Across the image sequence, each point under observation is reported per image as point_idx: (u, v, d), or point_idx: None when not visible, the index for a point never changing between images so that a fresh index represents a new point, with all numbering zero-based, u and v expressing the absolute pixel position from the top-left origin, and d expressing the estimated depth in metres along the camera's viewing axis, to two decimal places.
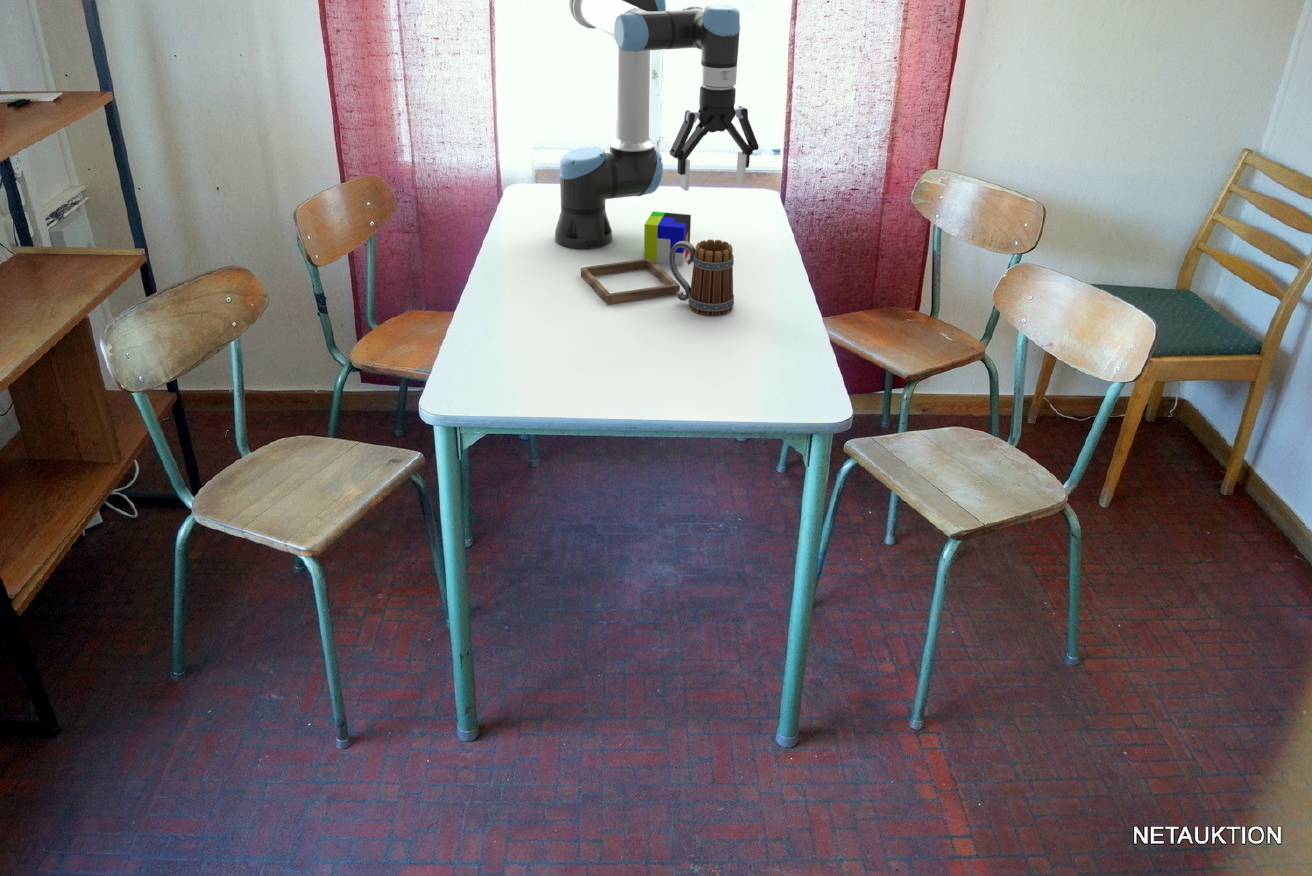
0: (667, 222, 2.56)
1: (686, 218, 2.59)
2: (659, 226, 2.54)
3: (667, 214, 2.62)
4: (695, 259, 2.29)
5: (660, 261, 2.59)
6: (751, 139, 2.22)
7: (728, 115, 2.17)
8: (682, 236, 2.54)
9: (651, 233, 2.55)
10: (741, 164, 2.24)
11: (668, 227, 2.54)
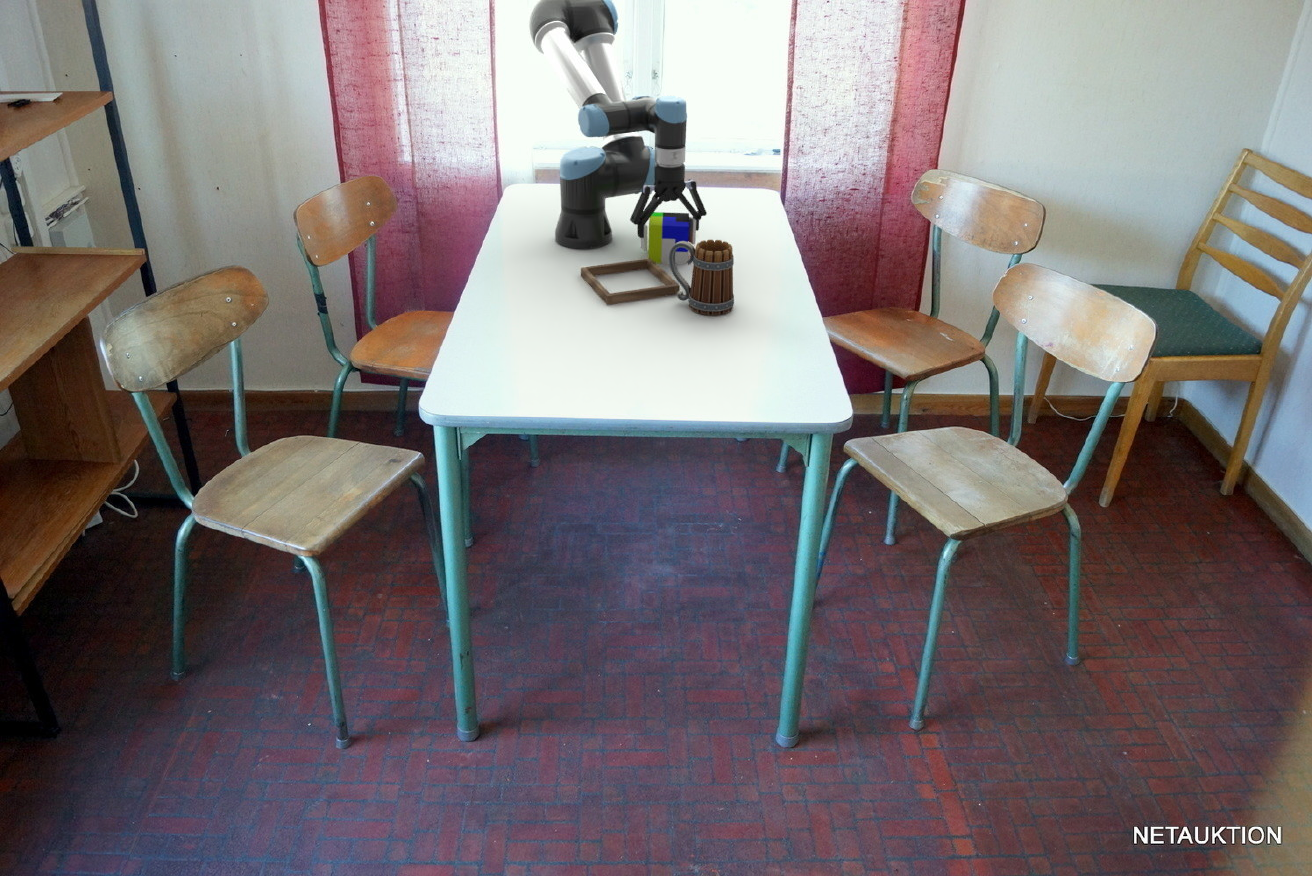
0: (669, 222, 2.56)
1: (686, 216, 2.60)
2: (664, 227, 2.54)
3: (665, 213, 2.62)
4: (695, 259, 2.29)
5: (665, 261, 2.59)
6: (700, 206, 2.58)
7: (679, 187, 2.54)
8: (687, 235, 2.55)
9: (656, 234, 2.55)
10: (692, 227, 2.61)
11: (673, 227, 2.54)
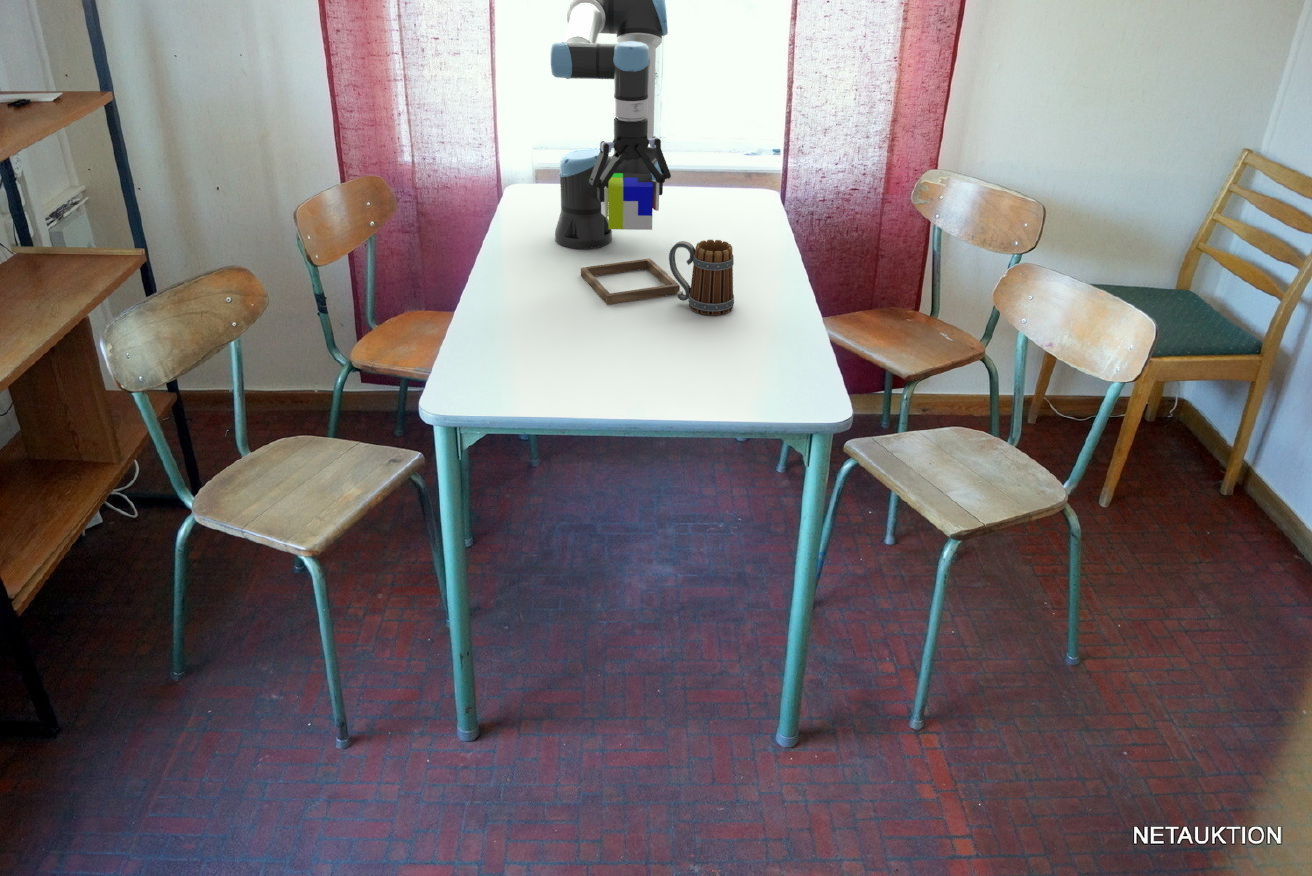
0: (631, 182, 2.32)
1: (649, 177, 2.36)
2: (625, 188, 2.29)
3: (626, 174, 2.37)
4: (695, 259, 2.29)
5: (627, 227, 2.34)
6: (664, 168, 2.34)
7: (642, 144, 2.29)
8: (651, 196, 2.31)
9: (616, 196, 2.30)
10: (655, 192, 2.37)
11: (635, 188, 2.29)
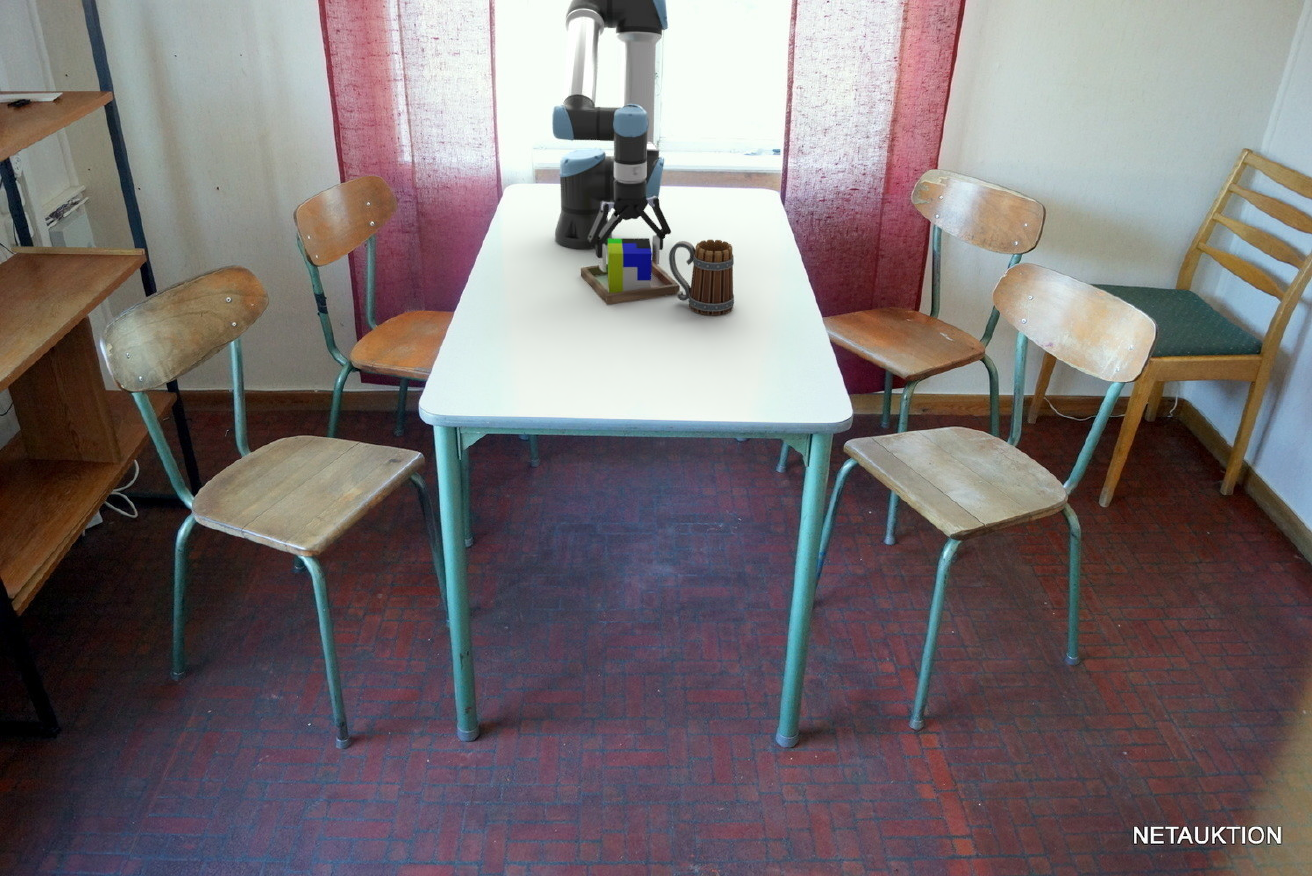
0: (630, 249, 2.40)
1: (647, 242, 2.44)
2: (625, 255, 2.37)
3: (624, 239, 2.45)
4: (695, 259, 2.29)
5: None
6: (663, 225, 2.41)
7: (641, 204, 2.36)
8: (650, 262, 2.39)
9: (616, 262, 2.38)
10: (655, 247, 2.44)
11: (635, 255, 2.38)
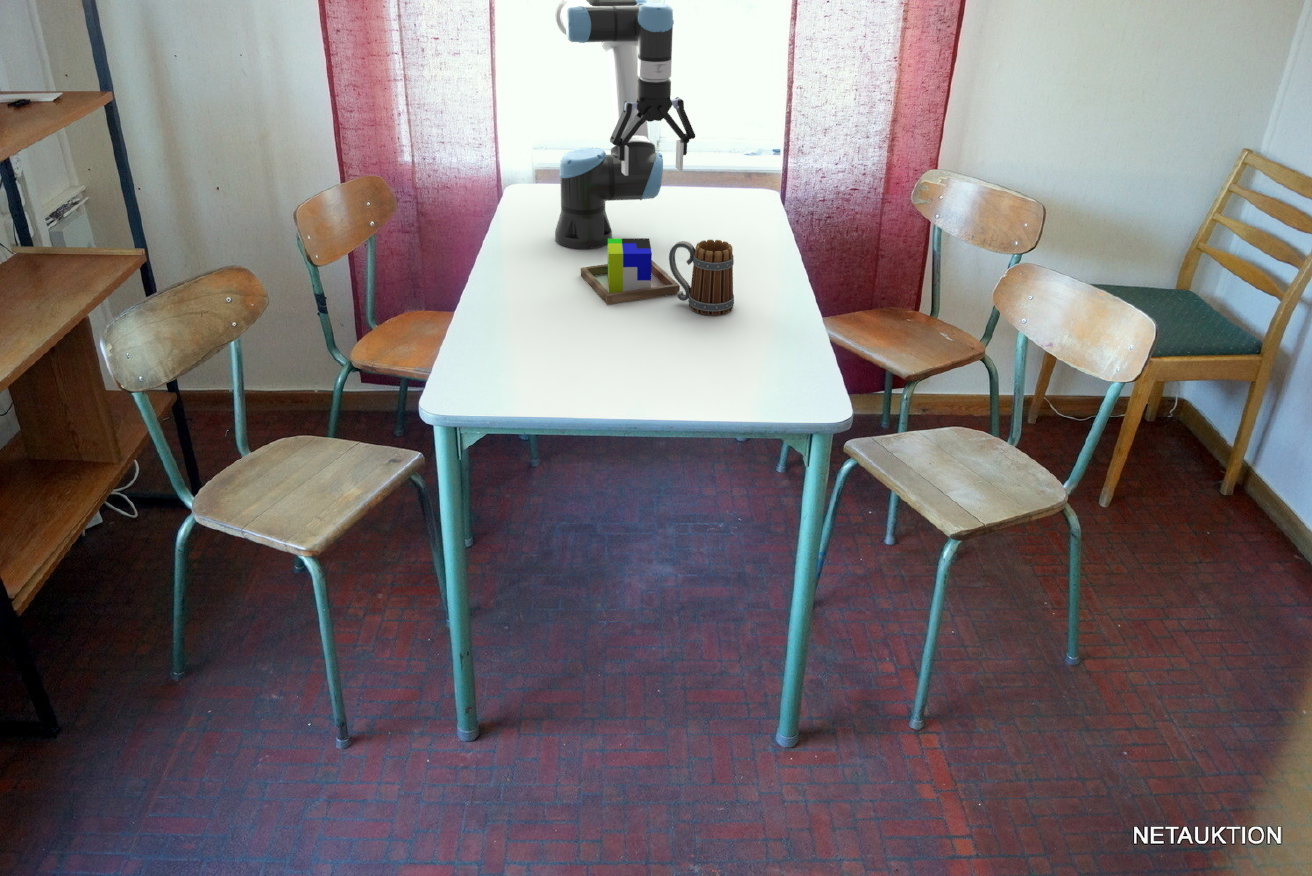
0: (630, 249, 2.40)
1: (647, 242, 2.44)
2: (625, 254, 2.37)
3: (624, 239, 2.45)
4: (695, 259, 2.29)
5: None
6: (688, 128, 2.37)
7: (664, 105, 2.32)
8: (650, 262, 2.39)
9: (616, 262, 2.38)
10: (679, 152, 2.40)
11: (635, 255, 2.38)
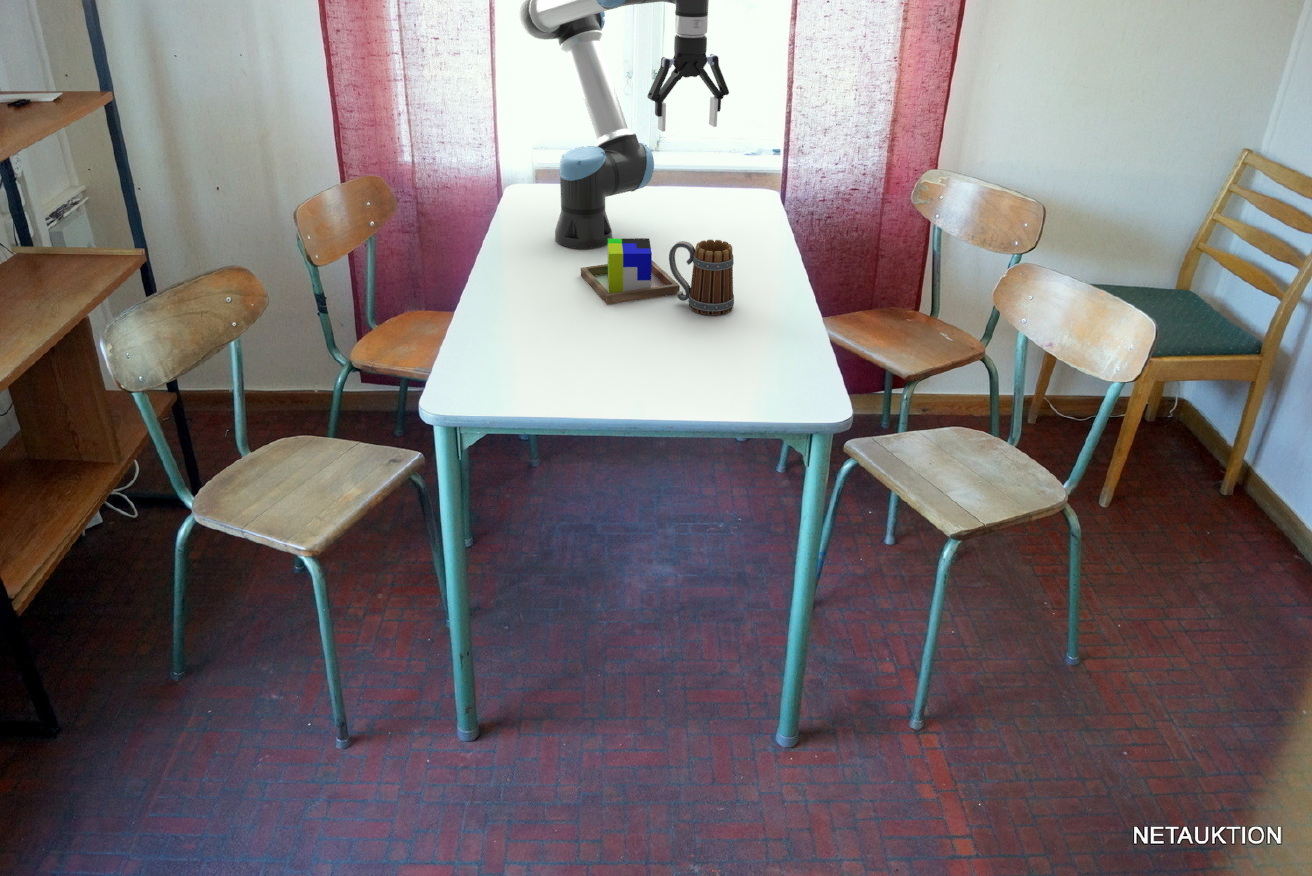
0: (630, 249, 2.40)
1: (647, 242, 2.44)
2: (625, 254, 2.37)
3: (624, 239, 2.45)
4: (695, 259, 2.29)
5: None
6: (722, 85, 2.44)
7: (700, 62, 2.39)
8: (650, 262, 2.39)
9: (616, 262, 2.38)
10: (713, 108, 2.46)
11: (635, 254, 2.38)
